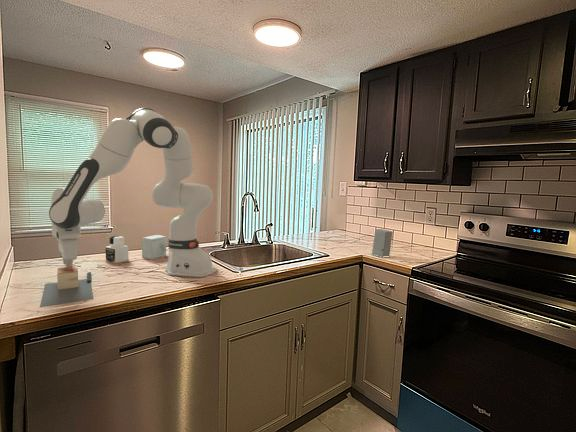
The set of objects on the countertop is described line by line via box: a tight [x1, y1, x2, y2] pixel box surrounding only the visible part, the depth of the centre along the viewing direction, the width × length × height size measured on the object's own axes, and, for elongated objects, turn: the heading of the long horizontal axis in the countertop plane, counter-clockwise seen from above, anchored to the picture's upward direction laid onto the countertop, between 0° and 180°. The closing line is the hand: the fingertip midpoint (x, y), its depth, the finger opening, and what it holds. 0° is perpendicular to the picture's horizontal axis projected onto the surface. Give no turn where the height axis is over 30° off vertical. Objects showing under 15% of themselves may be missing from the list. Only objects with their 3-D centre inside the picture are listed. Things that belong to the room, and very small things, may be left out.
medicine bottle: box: [105, 235, 129, 264], centre depth 150 cm, size 7×7×12 cm
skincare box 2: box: [371, 228, 394, 258], centre depth 184 cm, size 8×7×16 cm
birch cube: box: [56, 265, 79, 290], centre depth 113 cm, size 6×6×6 cm
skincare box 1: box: [141, 234, 167, 260], centre depth 161 cm, size 10×6×10 cm, turn 156°
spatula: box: [80, 261, 98, 282], centre depth 130 cm, size 6×29×2 cm, turn 33°
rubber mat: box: [39, 278, 95, 308], centre depth 109 cm, size 24×14×1 cm, turn 35°
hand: (67, 266), depth 119 cm, fingers open, 7 cm apart
